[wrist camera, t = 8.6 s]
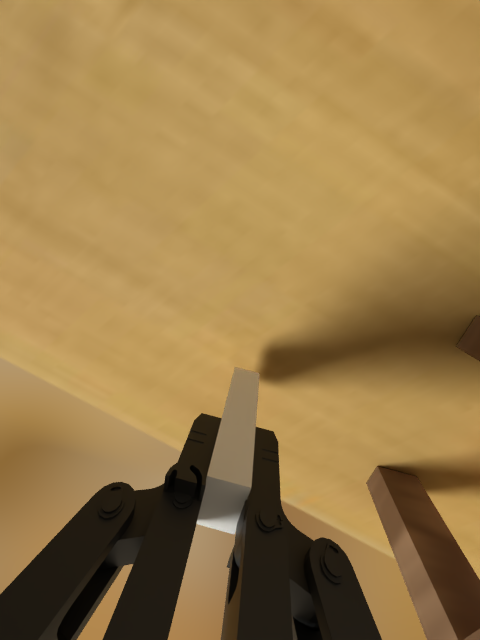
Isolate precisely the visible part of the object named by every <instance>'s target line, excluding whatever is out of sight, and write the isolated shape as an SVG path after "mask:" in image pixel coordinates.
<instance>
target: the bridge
mask: <svg viewBox="0 0 480 640" xmlns="http://www.w3.org/2000/svg"><path fill="white" fill-rule="evenodd" d="M456 347H457V348H459V349H461V350H462V351H464V352H466V353H467V354H469V355H471V356H472V357H474V358H475V359H477V360H479V361H480V316H476V317H475V318H474V320H473V321H472V323H471V324H470V326H469V327H468V329H467V330H466V332H465V334H464V335H463V337H462V338H461V340H460V341H459V343H458V344H457V346H456ZM366 484H367V486H368V489H369V491H370V494H371V496H372V499H373V502H374V504H375V507H376V509H377V512H378V514H379V517H380V520H381V522H382V525H383V527H384V530H385V532H386V535H387V538H388V540H389V543H390V545H391V548H392V550H393V553H394V556H395V558H396V561H397V563H398V566H399V568H400V571H401V574H402V576H403V579H404V581H405V584H406V586H407V589H408V591H409V594H410V597H411V599H412V602H413V604H414V607H415V610H416V612H417V615H418V617H419V620H420V623H421V625H422V628H423V630H424V633H425V635H426V638H427V640H480V580H479V578H478V577H477V575H476V573H475V572H474V570H473V568H472V567H471V565H470V563H469V562H468V560H467V558H466V557H465V555H464V554H463V552H462V550H461V549H460V547H459V545H458V544H457V542H456V540H455V539H454V537H453V535H452V534H451V532H450V530H449V529H448V527H447V525H446V524H445V522H444V521H443V519H442V517H441V516H440V514H439V512H438V511H437V509H436V507H435V506H434V504H433V502H432V501H431V499H430V497H429V496H428V494H427V493H426V491H425V489H424V488H423V486H422V484H421V483H420V481H419V479H418V478H417V477H416V476H412V475H409V474H405V473H401V472H397V471H394V470H390V469H386V468H382V467H379V466H377V468H376V469H375V471H374V472H373V474H372V475H371V477H370V478H369V480H368V481H367V483H366Z"/></svg>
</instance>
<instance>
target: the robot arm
mask: <svg viewBox="0 0 480 640" xmlns="http://www.w3.org/2000/svg"><path fill="white" fill-rule="evenodd" d="M258 387H259V373H257V372H253V371H249V370H245V369H241V368H237V367H235V369H234V373H233V377H232V380H231V384H230V388H229V392H228V396H227V400H226V404H225V408H224V412H223V415H222V418H218V417H214V416H210V415H207V414H203V413H202V414H201V415H199V416H198V417H197V418H196V419H195V420H194V423H193V425H192V428H191V430H190V433H189V435H188V438H187V440H186V443H185V445H184V448H183V450H182V453H181V455H180V458H179V460H178V463H176V464H175V465H173V466H172V467H171V468H170V469H169V471H168V472H167V474H166V476H165V483H164V484H162V485H161V486H159V487H156V488H152V489H146V490H136V491H134V489H133V488H132V487H131V486H130V485H129V484H126V483H123V482H116V483H111V484H109V485H107V486H104V487H103V488H102V489H101V490H99V491H98V492H97V493H96V494H95V495H94V496H93V497H92V498H91V499H90V500H89V501H88V502H87V503H86V504H85V505H84V506H83V507H82V508H81V510H80V511H79V512H78V513H77V514H76V515H75V516H74V517H73V518H72V519H71V520H70V521H69V522H68V523H67V524H66V525H65V526H64V528H63V529H62V530H61V531H60V532H59V533H58V534H57V535H56V536H55V537H54V538H53V539H52V540H51V541H50V542H49V543H48V545H47V546H46V547H45V548H44V549H43V550H42V551H41V552H40V553H39V554H38V555H37V556H36V557H35V558H34V559H33V560H32V561H31V563H30V564H29V565H28V566H27V567H26V568H25V569H24V570H23V571H22V572H21V573H20V574H19V575H18V576H17V577H16V578H15V580H14V581H13V582H12V583H11V584H10V585H9V586H8V587H7V588H6V589H5V590H4V591H3V592H2V593H1V594H0V640H77V638H78V636H79V635H80V633H81V632H82V630H83V629H84V627H85V626H86V624H87V622H88V621H89V619H90V618H91V616H92V615H93V613H94V611H95V610H96V608H97V607H98V605H99V604H100V602H101V601H102V599H103V597H104V596H105V594H106V593H107V591H108V590H109V588H110V586H111V585H112V583H113V582H114V580H115V579H116V577H117V576H118V574H119V572H120V571H121V569H122V567H123V566H124V565H129V564H133V567H132V570H131V572H130V574H129V577H128V579H127V581H126V584H125V586H124V589H123V591H122V594H121V596H120V598H119V601H118V603H117V606H116V609H115V611H114V613H113V616H112V618H111V621H110V623H109V625H108V628H107V630H106V633H105V635H104V638H103V640H167V639H168V635H169V631H170V627H171V623H172V619H173V615H174V611H175V607H176V603H177V599H178V595H179V591H180V587H181V583H182V579H183V575H184V571H185V567H186V563H187V559H188V555H189V551H190V547H191V543H192V539H193V535H194V531H195V527H196V524H199V525H202V526H206V527H209V528H213V529H217V530H220V531H224V532H228V533H231V534H235V531H236V537H235V545H234V547H233V550H232V553H231V555H230V558H229V561H228V565H227V567H228V568H230V569H229V577H228V585H227V594H226V602H225V610H224V618H223V627H222V635H221V640H382V639H381V636H380V634H379V631H378V629H377V626H376V624H375V621H374V619H373V616H372V614H371V612H370V609H369V607H368V604H367V602H366V599H365V597H364V594H363V592H362V589H361V587H360V584H359V582H358V579H357V577H356V574H355V572H354V570H353V567H352V565H351V563H350V561H349V559H348V557H347V555H346V554H345V552H344V551H343V550H342V549H341V548H340V547H339V545H338V544H336V543H335V542H333V541H332V540H330V539H326V538H319V539H316V540H315V541H313V540H312V539H310V538H309V537H307V536H306V535H304V534H303V533H301V532H300V531H299V530H297V529H296V528H295V527H294V526H293V525H292V524H291V523H290V522H289V521H288V519H287V517H286V516H285V514H284V512H283V509H282V506H281V500H280V477H279V455H278V441H277V438H276V436H275V434H274V432H273V431H269V430H266V429H262V428H258V427H256V415H257V401H258Z"/></svg>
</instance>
